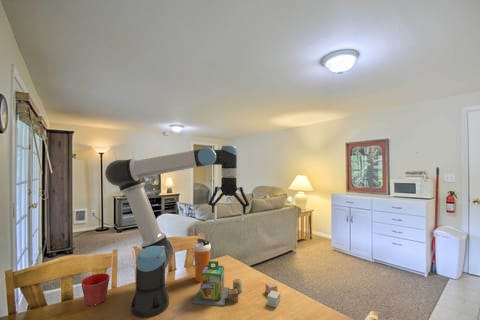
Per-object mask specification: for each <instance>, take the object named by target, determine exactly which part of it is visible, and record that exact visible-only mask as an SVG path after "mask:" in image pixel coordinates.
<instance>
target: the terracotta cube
mask: <svg viewBox="0 0 480 320" xmlns="http://www.w3.org/2000/svg"><path fill="white" fill-rule="evenodd" d="M271 290H272V291H276V292H278V285H277V284H276V283H275V282H274V281H271V282H267V283H266V282H265V293H266V294H267V296H268V295H269V293H270V292H271Z"/></svg>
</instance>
